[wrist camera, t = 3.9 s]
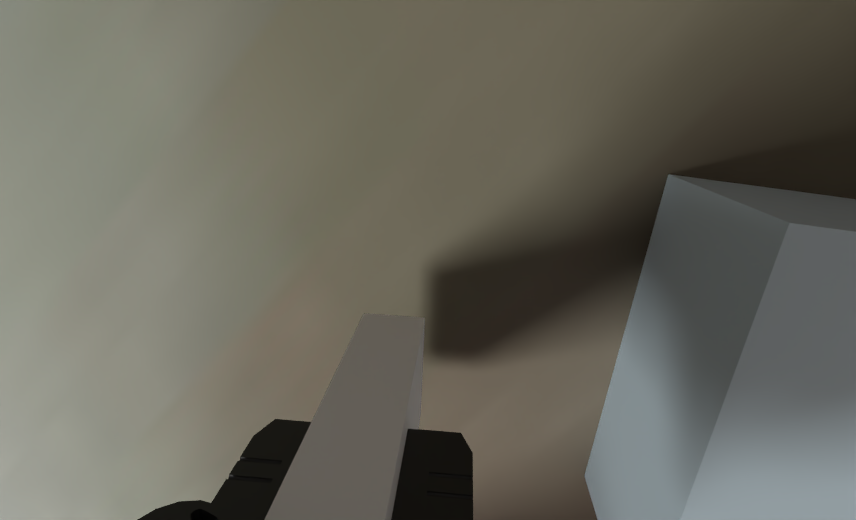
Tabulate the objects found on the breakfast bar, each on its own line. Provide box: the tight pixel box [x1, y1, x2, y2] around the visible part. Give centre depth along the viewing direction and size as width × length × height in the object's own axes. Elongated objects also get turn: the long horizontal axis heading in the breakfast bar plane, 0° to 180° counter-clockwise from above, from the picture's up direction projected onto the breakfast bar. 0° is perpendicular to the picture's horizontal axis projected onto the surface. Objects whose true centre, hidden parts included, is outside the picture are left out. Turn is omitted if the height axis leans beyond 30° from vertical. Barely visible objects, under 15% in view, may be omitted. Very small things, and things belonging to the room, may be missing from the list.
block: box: [585, 174, 856, 520], centre depth 11 cm, size 9×8×5 cm
